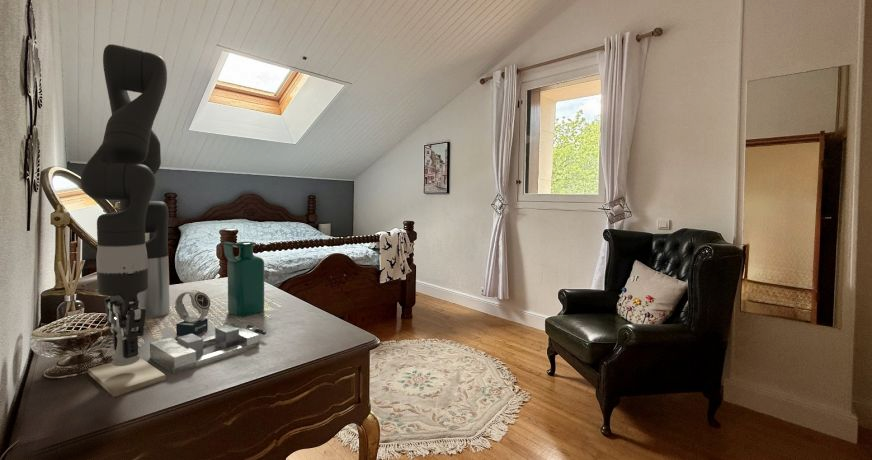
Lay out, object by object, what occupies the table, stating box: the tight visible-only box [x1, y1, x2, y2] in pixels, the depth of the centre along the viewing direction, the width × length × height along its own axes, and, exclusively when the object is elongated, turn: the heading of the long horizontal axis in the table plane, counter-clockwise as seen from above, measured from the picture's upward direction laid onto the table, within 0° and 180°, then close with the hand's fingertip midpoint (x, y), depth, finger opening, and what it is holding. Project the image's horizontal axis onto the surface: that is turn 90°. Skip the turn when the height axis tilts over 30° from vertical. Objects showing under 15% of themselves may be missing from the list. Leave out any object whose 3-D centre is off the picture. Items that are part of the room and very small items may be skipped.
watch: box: [174, 289, 211, 337], centre depth 97 cm, size 6×8×11 cm
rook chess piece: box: [110, 321, 141, 366], centre depth 73 cm, size 4×4×8 cm
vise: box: [149, 323, 267, 375], centre depth 87 cm, size 12×21×4 cm, turn 147°
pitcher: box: [222, 241, 265, 318], centre depth 114 cm, size 10×8×22 cm
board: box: [87, 357, 166, 398], centre depth 74 cm, size 14×8×1 cm, turn 57°
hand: (125, 352), depth 73 cm, fingers closed on rook chess piece, 4 cm apart
